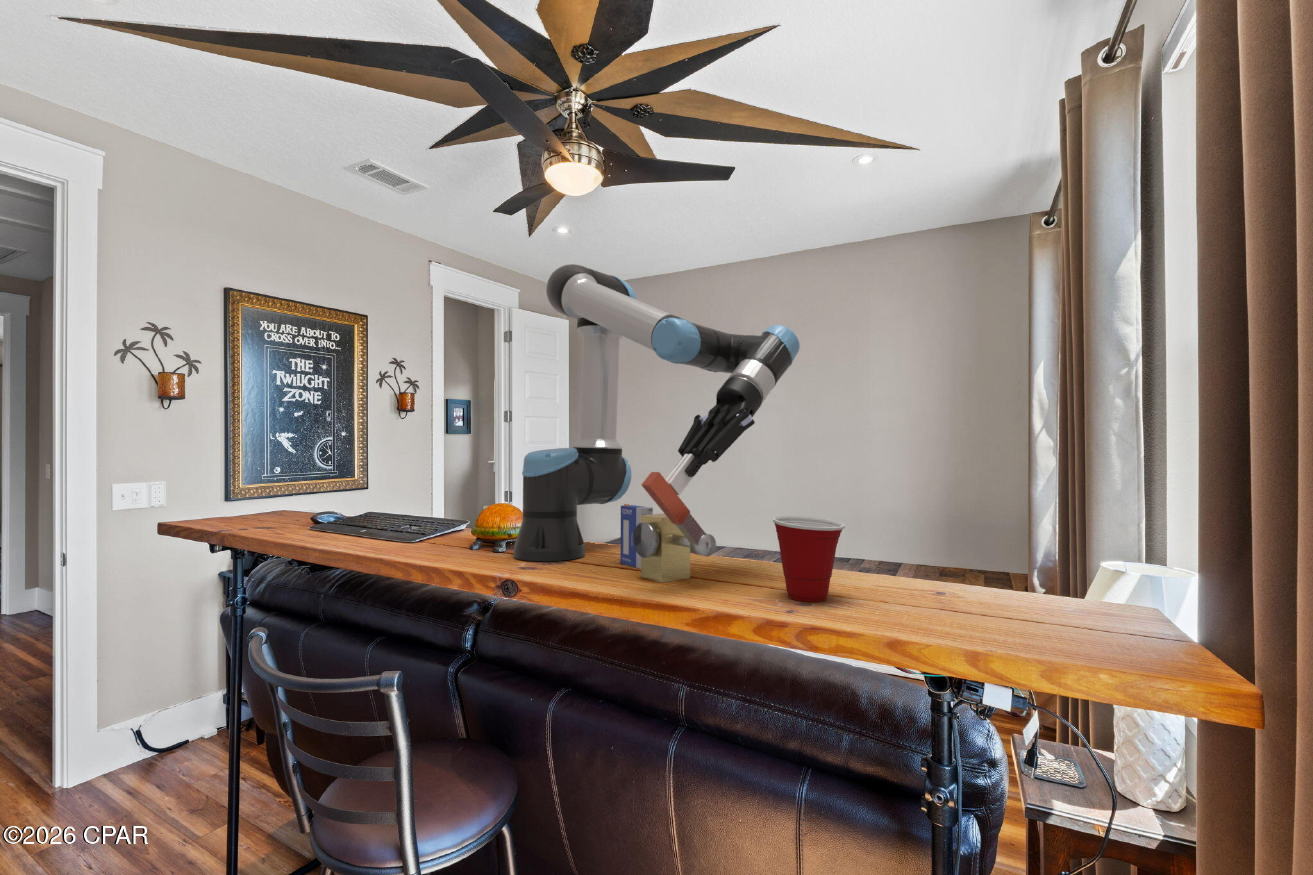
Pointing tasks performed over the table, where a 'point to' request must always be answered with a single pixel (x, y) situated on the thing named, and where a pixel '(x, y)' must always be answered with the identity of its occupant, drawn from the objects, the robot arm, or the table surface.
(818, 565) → the plastic cup
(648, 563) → the valve pipe
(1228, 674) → the table surface
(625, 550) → the walkman
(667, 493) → the valve lever
